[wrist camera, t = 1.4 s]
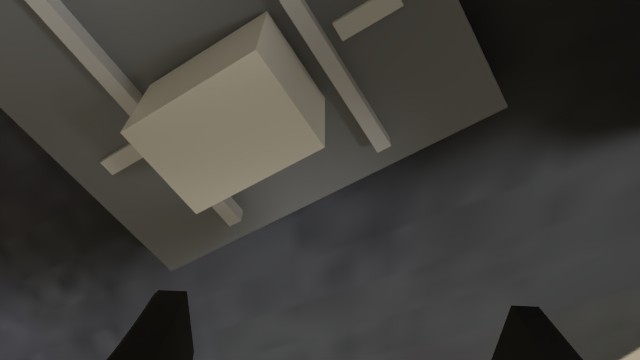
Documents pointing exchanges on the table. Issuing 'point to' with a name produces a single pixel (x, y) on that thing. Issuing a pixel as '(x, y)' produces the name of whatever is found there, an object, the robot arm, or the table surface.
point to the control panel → (198, 35)
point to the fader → (229, 116)
